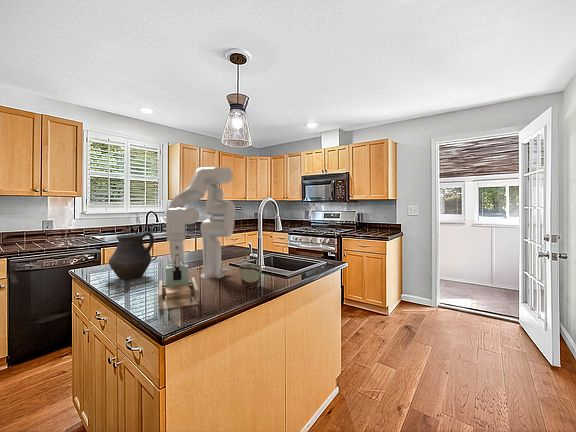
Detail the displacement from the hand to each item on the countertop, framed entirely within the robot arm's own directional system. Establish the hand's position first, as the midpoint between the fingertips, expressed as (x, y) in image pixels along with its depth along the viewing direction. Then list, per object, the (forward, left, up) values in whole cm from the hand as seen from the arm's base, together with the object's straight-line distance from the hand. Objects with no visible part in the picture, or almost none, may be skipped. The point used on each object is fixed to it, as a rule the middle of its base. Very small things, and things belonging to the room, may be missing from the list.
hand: (177, 278), depth 123 cm
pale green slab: (0, 0, -7) cm, 7 cm away
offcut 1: (0, +9, -3) cm, 10 cm away
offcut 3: (0, +9, -7) cm, 11 cm away
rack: (0, +6, -8) cm, 10 cm away
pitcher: (+21, -43, -8) cm, 49 cm away
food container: (-35, -3, -8) cm, 36 cm away
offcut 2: (0, +9, -5) cm, 10 cm away
